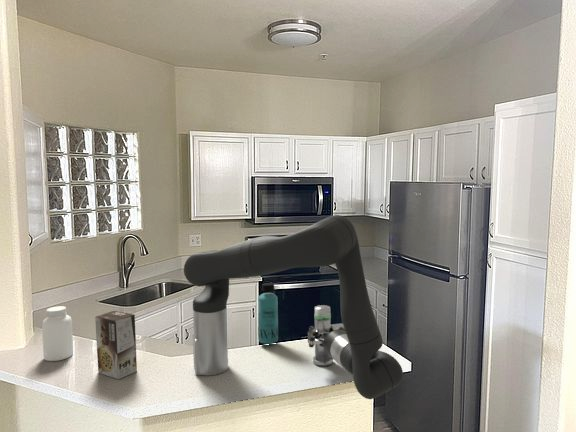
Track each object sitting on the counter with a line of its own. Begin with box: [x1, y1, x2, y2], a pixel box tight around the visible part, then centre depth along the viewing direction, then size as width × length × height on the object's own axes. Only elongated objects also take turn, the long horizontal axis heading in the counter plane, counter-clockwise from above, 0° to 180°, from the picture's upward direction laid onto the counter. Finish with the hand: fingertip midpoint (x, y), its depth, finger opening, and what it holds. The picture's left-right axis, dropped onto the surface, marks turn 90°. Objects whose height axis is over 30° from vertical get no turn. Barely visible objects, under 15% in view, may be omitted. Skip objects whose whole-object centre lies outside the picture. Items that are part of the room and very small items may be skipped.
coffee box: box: [94, 310, 138, 380], centre depth 115 cm, size 9×6×16 cm
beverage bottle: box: [257, 282, 279, 345], centre depth 134 cm, size 6×7×20 cm
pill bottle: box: [41, 305, 74, 362], centre depth 127 cm, size 8×8×15 cm
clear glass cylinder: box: [312, 304, 334, 367], centre depth 119 cm, size 6×6×16 cm
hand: (319, 328), depth 122 cm, fingers closed on clear glass cylinder, 4 cm apart
